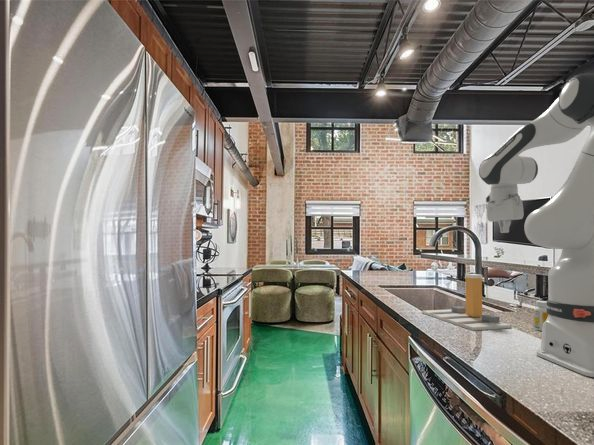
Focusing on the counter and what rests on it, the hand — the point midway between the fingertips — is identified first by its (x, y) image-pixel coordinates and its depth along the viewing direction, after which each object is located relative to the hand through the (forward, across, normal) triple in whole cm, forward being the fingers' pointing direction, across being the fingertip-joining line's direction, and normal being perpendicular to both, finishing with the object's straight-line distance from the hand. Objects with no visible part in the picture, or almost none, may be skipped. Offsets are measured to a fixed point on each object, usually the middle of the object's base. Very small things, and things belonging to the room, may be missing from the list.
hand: (504, 232), depth 133 cm
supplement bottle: (+33, -11, -7) cm, 36 cm away
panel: (+33, +1, +15) cm, 36 cm away
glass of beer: (+32, +3, +10) cm, 33 cm away
